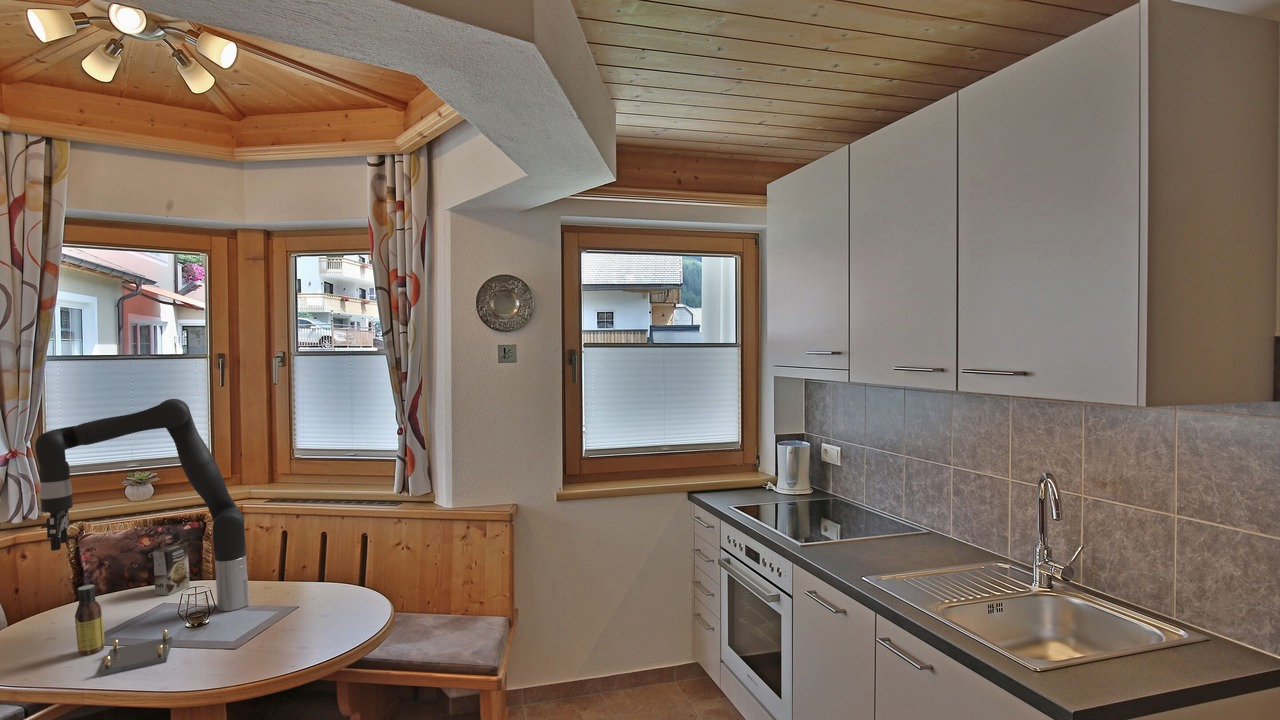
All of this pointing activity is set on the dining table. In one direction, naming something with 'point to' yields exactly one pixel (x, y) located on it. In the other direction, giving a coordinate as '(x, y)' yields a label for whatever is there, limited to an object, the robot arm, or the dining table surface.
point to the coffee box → (171, 569)
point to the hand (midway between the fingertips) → (59, 546)
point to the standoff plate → (136, 655)
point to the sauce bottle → (89, 622)
